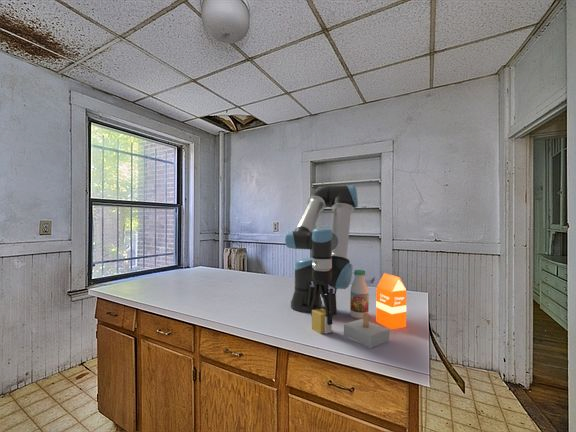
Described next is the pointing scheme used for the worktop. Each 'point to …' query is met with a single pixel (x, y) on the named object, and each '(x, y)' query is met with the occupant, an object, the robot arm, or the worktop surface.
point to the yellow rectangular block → (318, 320)
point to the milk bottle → (359, 295)
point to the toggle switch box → (366, 332)
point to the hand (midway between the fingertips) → (321, 329)
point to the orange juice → (391, 302)
